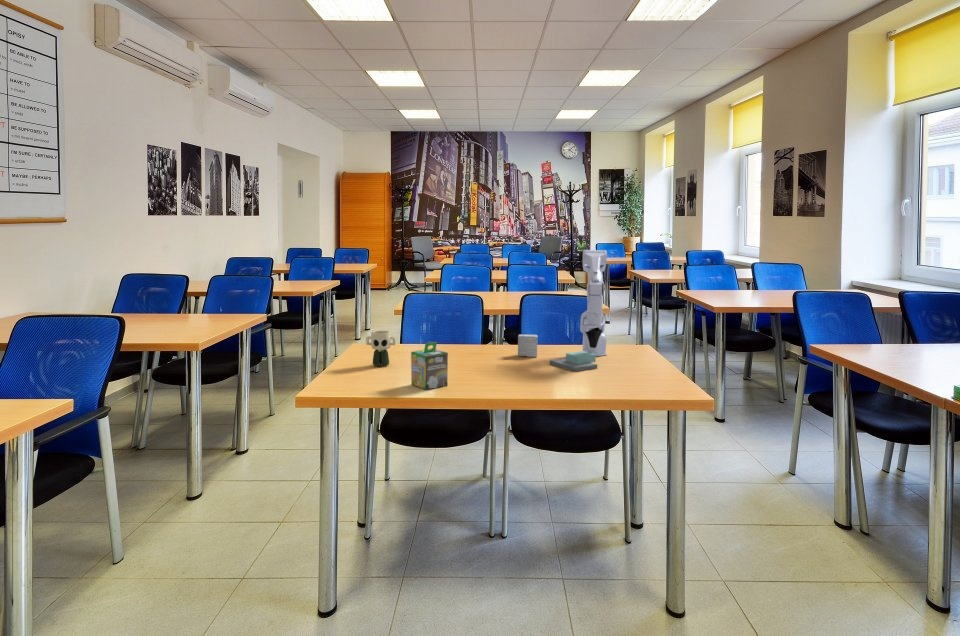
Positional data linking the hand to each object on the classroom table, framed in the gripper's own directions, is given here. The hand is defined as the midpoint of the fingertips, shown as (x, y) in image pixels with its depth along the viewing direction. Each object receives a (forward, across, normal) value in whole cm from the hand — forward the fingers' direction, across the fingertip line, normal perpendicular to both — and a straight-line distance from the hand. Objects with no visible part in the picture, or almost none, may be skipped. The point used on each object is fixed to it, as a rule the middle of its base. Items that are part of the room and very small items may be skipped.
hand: (593, 347), depth 250 cm
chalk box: (+6, +68, -25) cm, 72 cm away
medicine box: (+7, +5, -27) cm, 28 cm away
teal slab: (+3, +2, 0) cm, 4 cm away
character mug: (+6, +58, -59) cm, 83 cm away
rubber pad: (+6, +10, -3) cm, 12 cm away
